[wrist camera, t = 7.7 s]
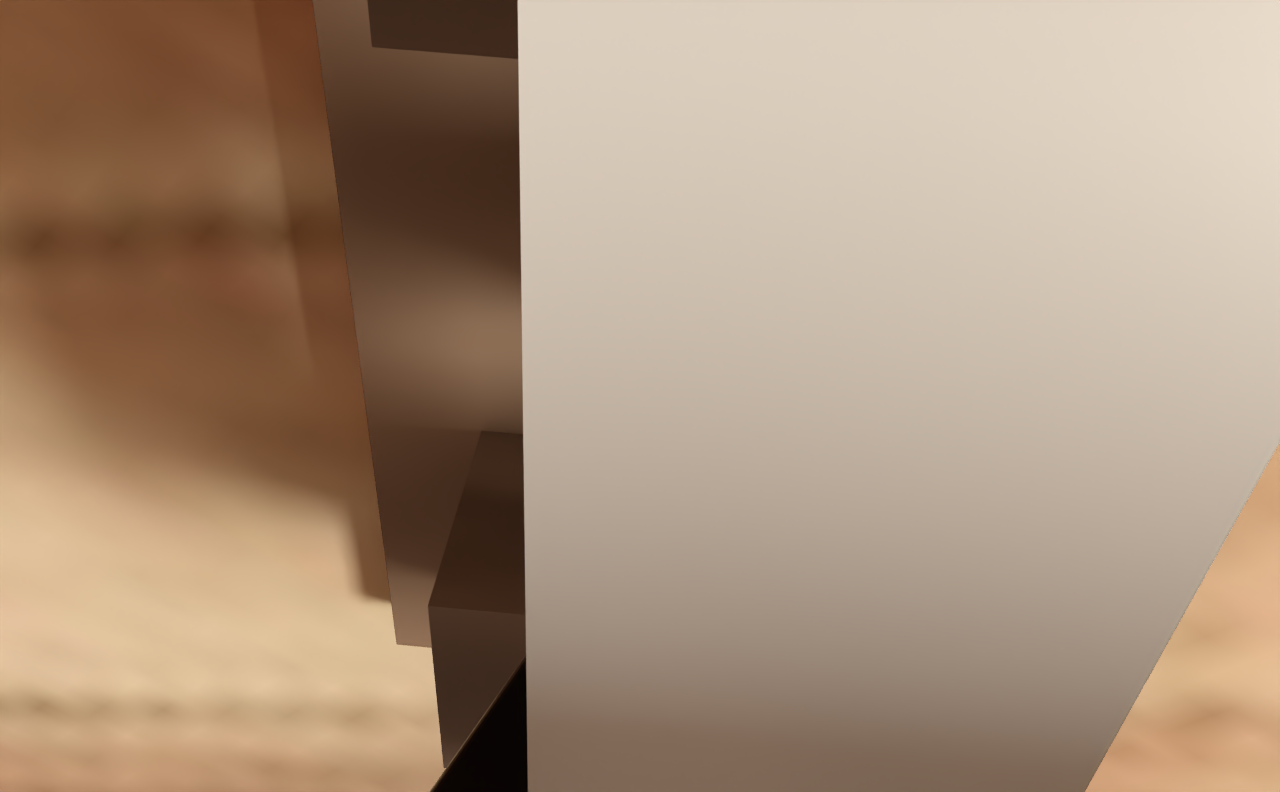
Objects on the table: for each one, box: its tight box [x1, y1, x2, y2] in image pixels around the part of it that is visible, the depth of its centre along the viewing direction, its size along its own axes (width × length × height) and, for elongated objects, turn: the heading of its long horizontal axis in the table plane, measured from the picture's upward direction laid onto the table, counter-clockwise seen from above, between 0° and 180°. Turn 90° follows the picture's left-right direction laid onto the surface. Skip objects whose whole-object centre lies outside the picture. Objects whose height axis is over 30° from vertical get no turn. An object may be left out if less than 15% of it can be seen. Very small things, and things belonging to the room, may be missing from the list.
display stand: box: [312, 0, 526, 768], centre depth 14 cm, size 20×12×5 cm, turn 177°
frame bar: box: [518, 0, 1280, 792], centre depth 9 cm, size 16×3×4 cm, turn 177°
